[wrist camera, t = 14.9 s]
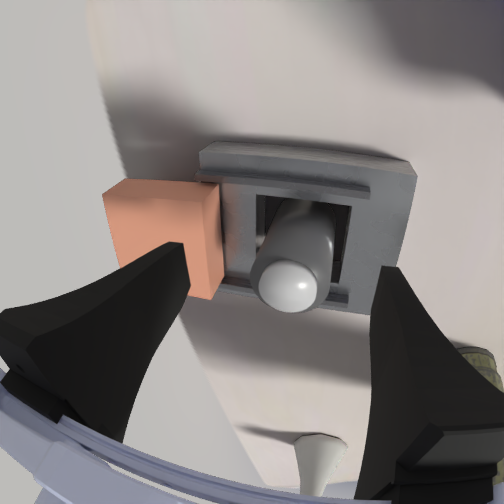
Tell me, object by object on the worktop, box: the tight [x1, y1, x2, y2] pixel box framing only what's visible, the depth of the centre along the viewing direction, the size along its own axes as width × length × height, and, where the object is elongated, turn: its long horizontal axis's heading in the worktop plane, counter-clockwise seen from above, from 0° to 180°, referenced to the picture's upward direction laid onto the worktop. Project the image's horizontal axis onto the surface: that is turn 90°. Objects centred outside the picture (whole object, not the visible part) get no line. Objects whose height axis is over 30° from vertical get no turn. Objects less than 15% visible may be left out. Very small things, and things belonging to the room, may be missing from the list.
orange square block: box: [102, 179, 224, 300], centre depth 20 cm, size 6×6×2 cm
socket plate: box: [194, 141, 418, 315], centre depth 20 cm, size 12×10×3 cm
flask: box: [294, 434, 348, 497], centre depth 34 cm, size 7×7×10 cm
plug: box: [250, 198, 336, 313], centre depth 18 cm, size 4×4×7 cm
